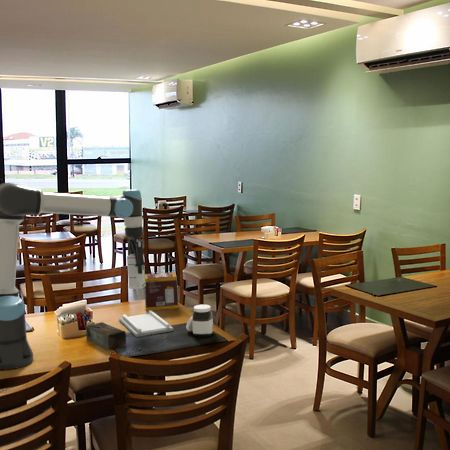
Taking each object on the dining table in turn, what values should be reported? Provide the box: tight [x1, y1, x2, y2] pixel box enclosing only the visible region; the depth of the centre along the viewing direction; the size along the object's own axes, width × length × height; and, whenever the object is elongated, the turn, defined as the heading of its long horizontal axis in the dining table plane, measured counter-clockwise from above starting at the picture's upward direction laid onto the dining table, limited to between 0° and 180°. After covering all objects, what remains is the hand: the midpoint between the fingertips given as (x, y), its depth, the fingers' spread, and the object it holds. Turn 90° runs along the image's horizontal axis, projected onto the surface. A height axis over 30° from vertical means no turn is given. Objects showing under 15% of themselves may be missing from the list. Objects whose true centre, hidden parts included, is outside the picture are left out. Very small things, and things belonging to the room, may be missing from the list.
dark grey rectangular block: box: [85, 321, 127, 351], centre depth 224 cm, size 8×19×7 cm, turn 40°
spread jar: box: [185, 304, 214, 338], centre depth 231 cm, size 12×11×12 cm
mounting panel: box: [118, 310, 174, 338], centre depth 244 cm, size 26×16×3 cm, turn 26°
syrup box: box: [126, 253, 146, 290], centre depth 241 cm, size 6×6×14 cm
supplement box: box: [143, 271, 179, 312], centre depth 273 cm, size 10×15×16 cm
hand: (136, 279), depth 242 cm, fingers closed on syrup box, 8 cm apart
